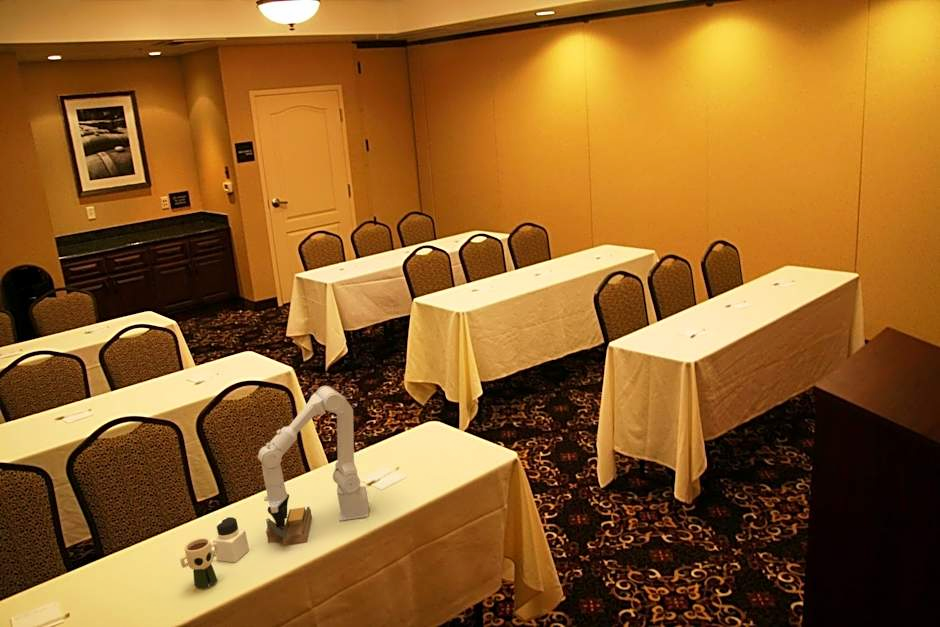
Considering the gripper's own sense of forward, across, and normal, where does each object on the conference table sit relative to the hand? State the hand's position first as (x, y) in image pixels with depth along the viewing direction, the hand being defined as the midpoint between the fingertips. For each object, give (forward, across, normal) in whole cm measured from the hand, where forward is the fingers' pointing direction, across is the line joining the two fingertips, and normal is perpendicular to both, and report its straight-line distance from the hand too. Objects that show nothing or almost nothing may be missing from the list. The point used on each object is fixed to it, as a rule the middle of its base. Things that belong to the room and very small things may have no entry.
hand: (282, 522), depth 245 cm
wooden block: (+2, -5, +4) cm, 7 cm away
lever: (+1, +4, -1) cm, 4 cm away
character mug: (+6, +20, -20) cm, 29 cm away
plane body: (+5, -3, +1) cm, 6 cm away
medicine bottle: (+6, +6, -15) cm, 17 cm away
